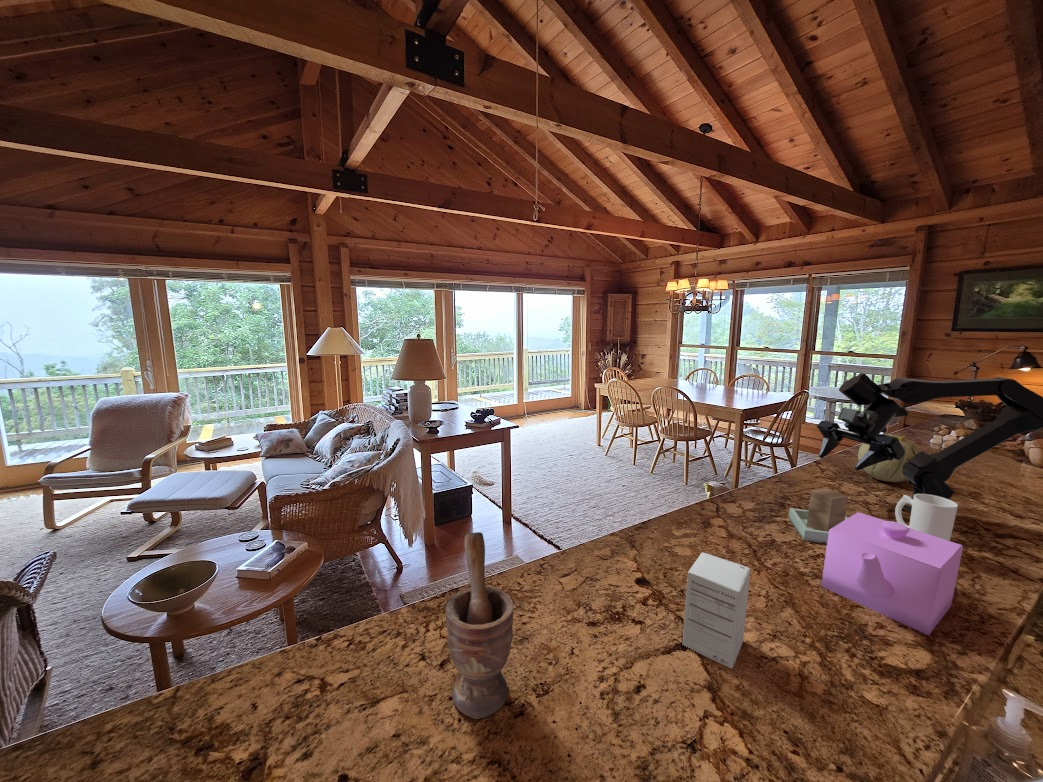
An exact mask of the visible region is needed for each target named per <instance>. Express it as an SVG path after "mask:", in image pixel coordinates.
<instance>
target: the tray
mask: <svg viewBox="0 0 1043 782" xmlns="http://www.w3.org/2000/svg"><path fill="white" fill-rule="evenodd" d="M808 511H809V509H808V510H807V509H802V508H801V509H800V508H791V507H789V509H788V519H789V520H790V522H791V523H792V525H793V526H794V527H795V529H796V531H797V532H798V534H799V535H800V537H801V538H802V540H803V541H808V542H814V543H818V544H819V543H821V544H827V541H828V534H829V532H827V531H819V530H813V529H811V528H809V527H807V519H808ZM847 518H848V517H847V516H846V515H845V520H846V519H847Z"/></svg>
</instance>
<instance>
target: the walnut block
mask: <svg viewBox="0 0 1043 782" xmlns="http://www.w3.org/2000/svg"><path fill="white" fill-rule="evenodd" d="M809 497H810V498H809V504H808V510H809V511H808V519H807V527H809V528H811V529H813V530H819V531H827V532H829V530H830V529H831V528H833V527H835V526H836V525H838V524H839V523H841V522H843V521H844V520H845V516H846V515H847V509H848V507H847V506H848V500H849V496H848V495H845V494H843V493H839V492H838V491H834V490H833V489H830V488H821V489H820V488H819V489H813V490H810V496H809Z"/></svg>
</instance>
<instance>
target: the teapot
mask: <svg viewBox="0 0 1043 782" xmlns="http://www.w3.org/2000/svg"><path fill="white" fill-rule="evenodd" d="M963 549H964V545H962V544H960V543H956V542H953V541H951V540H950V541H948V540H944V539H941V538H938V537H935V536H932V535H929V534H926V533H923V532H919V531H916V530H914V529H912V528H908V527H907V526H905V525H903V524H900V523H897V521H891V520H884V519H881V518H879V517H875V516H871V515H868V514H865V513H863V512H859V511H857V512H856V513H855V514H852V515H851V516H849V517H847V519H846V520H844V521H843V522H841V523H839V524H838V525H836V526H835V527H833V528H831V529H830V530H829V534H828V541H827V543H826V549H825V555H824V564H823V571H822V575H821V576H822V578H821V583H820V586H821V587H822V588H824V589H827V590H829V591H830V592H833V593H835V594H837V595H839V596H841V597H844V598H845V599H848V600H851V601H852V602H855V603H857V604H859V605H861V606H863V607H865V608H868V609H870V610H871V611H874V612H875V613H878V614H880V615H883V616H884V617H887V618H889V619H892V620H893V621H895V620H896V621H895V622H897V623H900V624H901V625H904V626H906V627H907V628H911V629H913V630H915V631H917V632H919V633H922V634H924V635H926V636H928V637H929V635H930V634H931V633H932V632H933V630H934V629H935V628H936V626H937V625H938V623H939V622H941V620H942V618H944V616H945V615H946V613H947V612H948V611H949V610H950V608H951V607H952V603H953V598H954V593H955V589H956V585H957V584H956V583H957V579H958V573H959V568H960V565H961V559H962V554H963Z"/></svg>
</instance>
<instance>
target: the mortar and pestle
mask: <svg viewBox="0 0 1043 782" xmlns="http://www.w3.org/2000/svg"><path fill="white" fill-rule="evenodd" d="M463 543H464V553H465V559H466V566H467V571H468V577H469V586H470V587H467V588H464V589H462V590H460V591H458V592H457V593H455V594H454V595H453V596H452V597H450V598H449V600H448V602H447V604H446V606H445V615H446V631H447V636H446V637H447V645H448V650H449V654H450V655H449V656H450V658H451V660H452V663H453V666H454V668H455V670H456V671H457V672H458V673H459V674H458V676H457V677H456V679H455V681H454V684H453V688H452V692H451V693H452V695H451V696H452V702H453V704H454V706H455V707H456V709H457V710H458V711H459V712H461V713H462V714H463V715H465V716H466V717H469V718H471V719H473V718H474V719H473V720H475V719H478V718H481V719H484V718H487V717H489V716H492V715H493V714H494V713H497V711H499V710H501V709H502V707H504V706H505V704H506V703H507V700H508V698H507V696H509V689H508V688H509V687H508V683H507V680H506V678H505V676H504V675H503V674H502V670H503V669H504V668H505V665H506V664H507V661H508V658H509V655H510V652H511V649H512V648H511V647H512V642H513V637H514V636H513V635H514V633H513V632H514V631H513V629H514V628H513V622H514V603H513V600H512V599H511V597H510V595H508V593H507V592H505V591H502V590H501V589H499V588H496V587H491V586H486V578H485V576H486V575H485V569H486V568H485V562H486V544H485V539H484V533H482V532H480V531H479V532H470V533H466V534H465V535H464V541H463ZM505 702H506V703H505Z"/></svg>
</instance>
